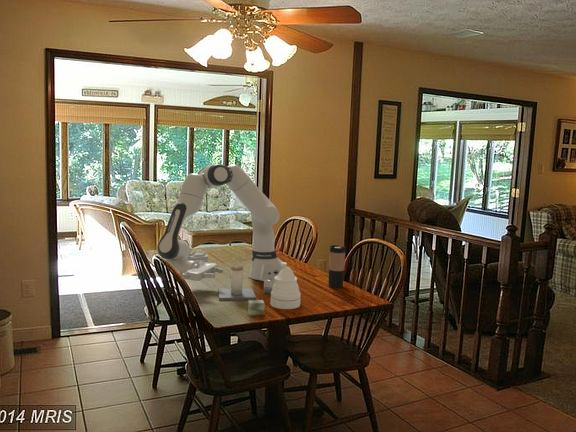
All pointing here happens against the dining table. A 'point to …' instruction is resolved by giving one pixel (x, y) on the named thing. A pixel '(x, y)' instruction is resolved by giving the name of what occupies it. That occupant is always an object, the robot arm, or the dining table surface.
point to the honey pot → (285, 290)
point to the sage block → (256, 307)
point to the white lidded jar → (236, 279)
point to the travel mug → (336, 266)
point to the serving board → (226, 295)
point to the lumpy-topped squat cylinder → (198, 256)
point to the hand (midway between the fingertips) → (218, 273)
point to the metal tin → (268, 285)
